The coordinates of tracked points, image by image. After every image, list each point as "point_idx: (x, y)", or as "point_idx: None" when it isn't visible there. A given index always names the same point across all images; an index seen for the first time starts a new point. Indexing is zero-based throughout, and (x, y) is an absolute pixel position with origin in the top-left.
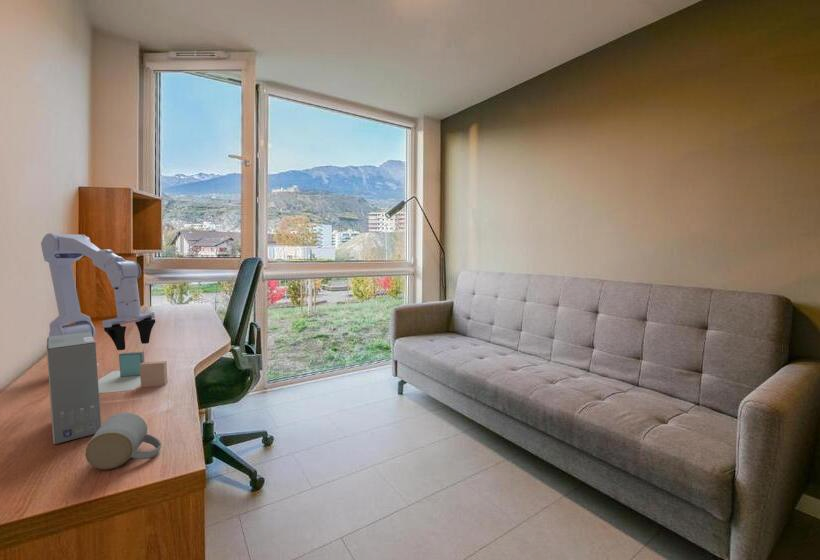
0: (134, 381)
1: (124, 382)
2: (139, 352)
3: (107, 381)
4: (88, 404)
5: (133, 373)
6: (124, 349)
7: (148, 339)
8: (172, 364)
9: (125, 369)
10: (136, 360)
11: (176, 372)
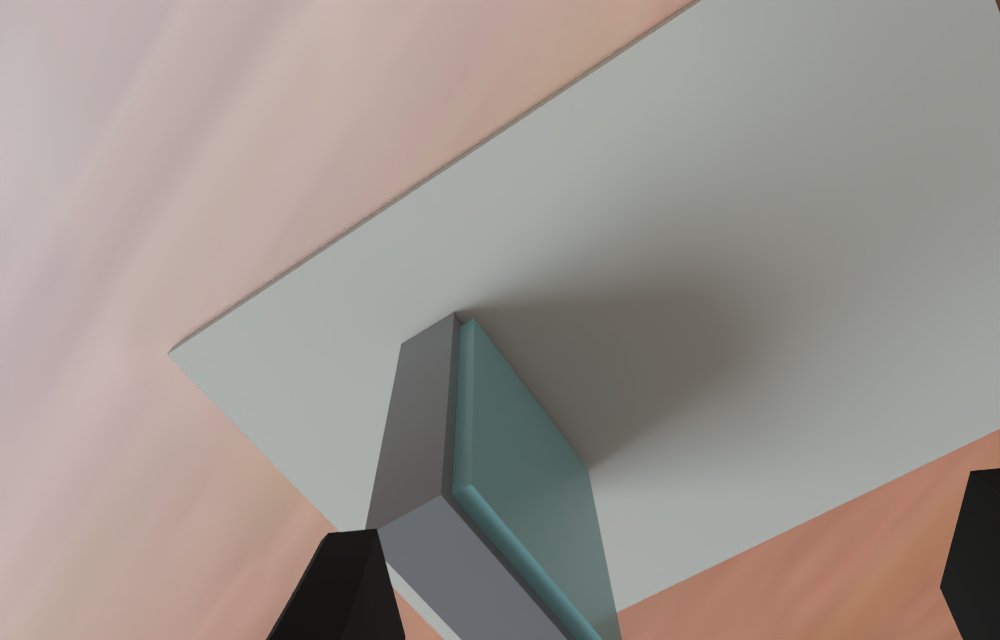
0: (660, 181)
1: (716, 261)
2: (434, 545)
3: (730, 453)
4: None
5: (520, 389)
6: (987, 471)
7: (324, 593)
8: (7, 388)
9: (568, 482)
10: (501, 458)
11: (161, 27)
